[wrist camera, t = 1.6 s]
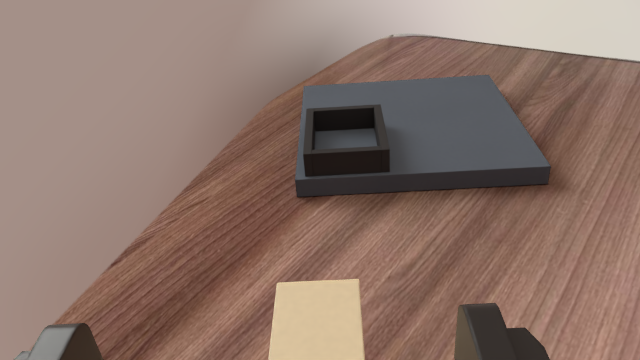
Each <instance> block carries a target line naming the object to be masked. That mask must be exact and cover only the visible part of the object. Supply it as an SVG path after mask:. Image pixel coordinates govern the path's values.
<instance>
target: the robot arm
mask: <svg viewBox="0 0 640 360" xmlns="http://www.w3.org/2000/svg"><path fill="white" fill-rule="evenodd" d="M454 358H455V360H550V359H549V357H548V355H547V353H546V350H545V348H544V347H543V345H542V344H541V343H540V342H539V341H538V340H537V339H536V338H535V337H534V336H533V335H532V334H531V333H530V332H529V331H528V330H527V329H526V328H506V325H505V322H504V320H503V317H502V315H501V312H500V310H499V307H498V306H497V304H496V303H486V304H466V305H459V308H458V316H457V328H456V340H455V353H454ZM14 360H103V358H102V356H101V353H100V351H99V349H98V346H97V344H96V342H95V339H94V337H93V335H92V332H91V330H90V328H89V326H88V325H87V324H85V323H79V324H60V325H49V326H47V327H46V328H45V329H44V330H43V331H42V333H41V334H40V336H39V338H38V339H37V341H36V343H35V345H34V346H33V348H32V350H31V351H23V352H21V353H20V354H19V355H18V356H17V357H16V358H15V359H14Z"/></svg>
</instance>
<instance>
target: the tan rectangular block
mask: <svg viewBox="0 0 640 360" xmlns="http://www.w3.org/2000/svg"><path fill="white" fill-rule="evenodd" d="M268 360H365V353H364V339H363V326H362V312H361V298H360V284H359V279H348V280H326V281H304V282H281V283H277V287H276V296H275V305H274V314H273V323H272V331H271V340H270V349H269V358H268Z"/></svg>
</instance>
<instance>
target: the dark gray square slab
mask: <svg viewBox="0 0 640 360" xmlns="http://www.w3.org/2000/svg"><path fill="white" fill-rule="evenodd" d="M550 168H551V166H550V164H549V163H548V161H547V160H546V158H545V157H544V155H543V154H542V152H541V151H540V149H539V148H538V147H537V145H536V144H535V142H534V141H533V139H532V138H531V136H530V135H529V133H528V132H527V130H526V129H525V127H524V126H523V125H522V123H521V122H520V120H519V119H518V117H517V116H516V114H515V113H514V111H513V110H512V108H511V107H510V105H509V104H508V103H507V101H506V100H505V98H504V97H503V95H502V94H501V92H500V91H499V89H498V88H497V86H496V85H495V83H494V82H493V80H492V79H491V78H490V76H489V75H478V76H462V77H446V78H429V79H413V80H397V81H381V82H365V83H349V84H332V85H316V86H304V91H303V102H302V113H301V123H300V134H299V145H298V155H297V166H296V177H295V183H296V192H297V197H305V196H325V195H344V194H363V193H382V192H401V191H421V190H440V189H459V188H478V187H497V186H517V185H536V184H548V179H549V174H550Z"/></svg>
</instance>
